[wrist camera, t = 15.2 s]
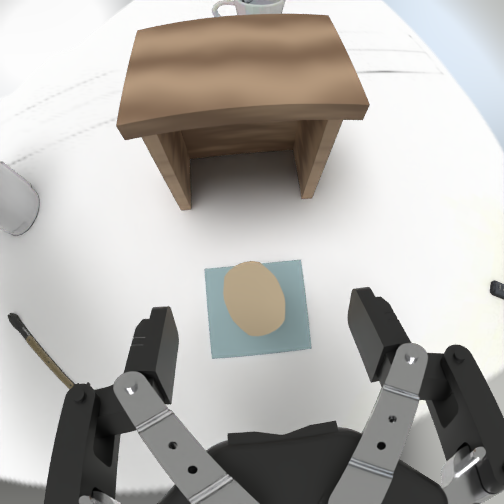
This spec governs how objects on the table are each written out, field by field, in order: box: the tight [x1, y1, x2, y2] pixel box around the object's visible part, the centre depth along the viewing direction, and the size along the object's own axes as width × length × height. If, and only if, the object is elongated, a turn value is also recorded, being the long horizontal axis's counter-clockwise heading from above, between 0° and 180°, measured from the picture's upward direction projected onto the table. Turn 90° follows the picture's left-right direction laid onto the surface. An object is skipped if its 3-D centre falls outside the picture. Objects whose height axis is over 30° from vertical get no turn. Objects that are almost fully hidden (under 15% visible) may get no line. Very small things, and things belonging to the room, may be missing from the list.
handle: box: [223, 261, 285, 336], centre depth 34 cm, size 5×6×15 cm
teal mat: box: [205, 260, 311, 359], centre depth 41 cm, size 12×13×1 cm
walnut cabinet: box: [116, 14, 370, 210], centre depth 34 cm, size 13×19×24 cm
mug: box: [212, 0, 285, 17], centre depth 51 cm, size 10×15×10 cm
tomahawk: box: [8, 313, 90, 389], centre depth 39 cm, size 21×7×1 cm, turn 52°
